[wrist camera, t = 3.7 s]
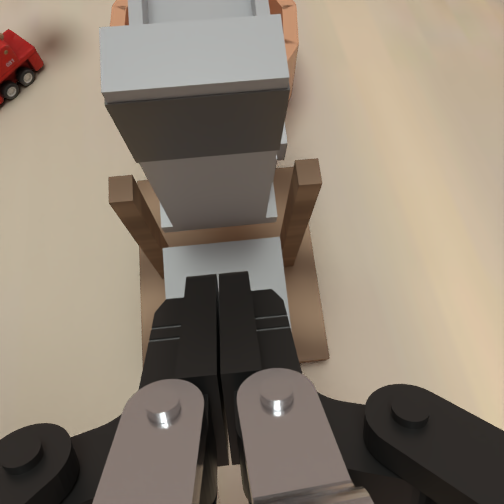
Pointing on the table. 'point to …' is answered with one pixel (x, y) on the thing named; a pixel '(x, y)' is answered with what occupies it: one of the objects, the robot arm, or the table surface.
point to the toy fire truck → (16, 64)
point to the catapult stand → (286, 227)
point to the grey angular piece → (204, 125)
